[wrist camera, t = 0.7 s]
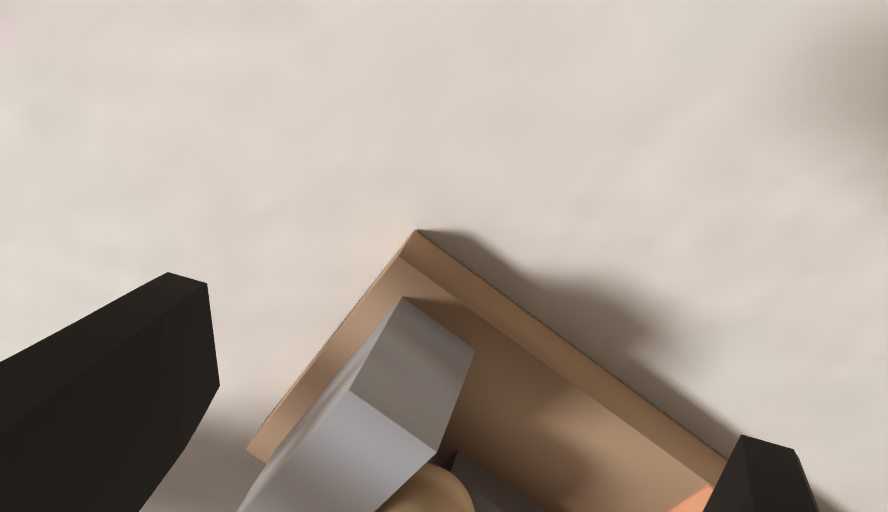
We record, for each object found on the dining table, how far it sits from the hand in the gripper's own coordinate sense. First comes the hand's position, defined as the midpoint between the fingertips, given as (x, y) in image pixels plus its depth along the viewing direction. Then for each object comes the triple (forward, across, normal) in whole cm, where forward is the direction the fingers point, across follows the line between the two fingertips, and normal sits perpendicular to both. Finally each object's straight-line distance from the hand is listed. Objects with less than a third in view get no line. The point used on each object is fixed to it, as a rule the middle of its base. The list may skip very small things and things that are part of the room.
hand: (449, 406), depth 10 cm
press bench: (+9, -7, +16) cm, 19 cm away
